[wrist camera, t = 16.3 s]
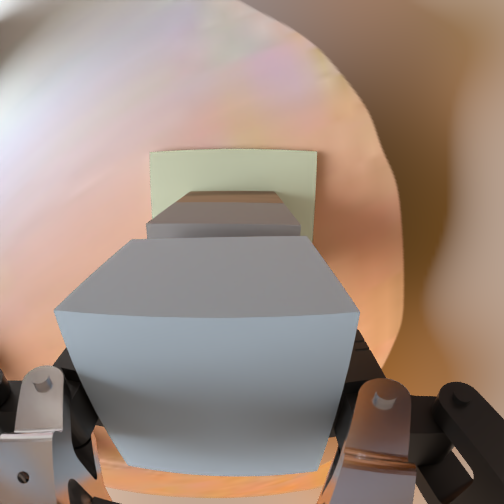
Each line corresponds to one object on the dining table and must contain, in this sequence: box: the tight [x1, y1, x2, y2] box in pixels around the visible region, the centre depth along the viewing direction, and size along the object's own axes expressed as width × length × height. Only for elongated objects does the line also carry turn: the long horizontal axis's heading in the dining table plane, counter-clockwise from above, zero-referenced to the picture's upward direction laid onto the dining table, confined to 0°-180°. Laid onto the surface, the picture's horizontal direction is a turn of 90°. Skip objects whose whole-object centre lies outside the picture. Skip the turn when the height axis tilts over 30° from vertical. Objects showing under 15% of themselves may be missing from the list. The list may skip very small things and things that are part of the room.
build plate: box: [150, 149, 317, 242], centre depth 22 cm, size 12×12×1 cm
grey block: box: [146, 202, 301, 239], centre depth 14 cm, size 6×6×5 cm
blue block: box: [54, 236, 360, 476], centre depth 8 cm, size 6×6×5 cm
